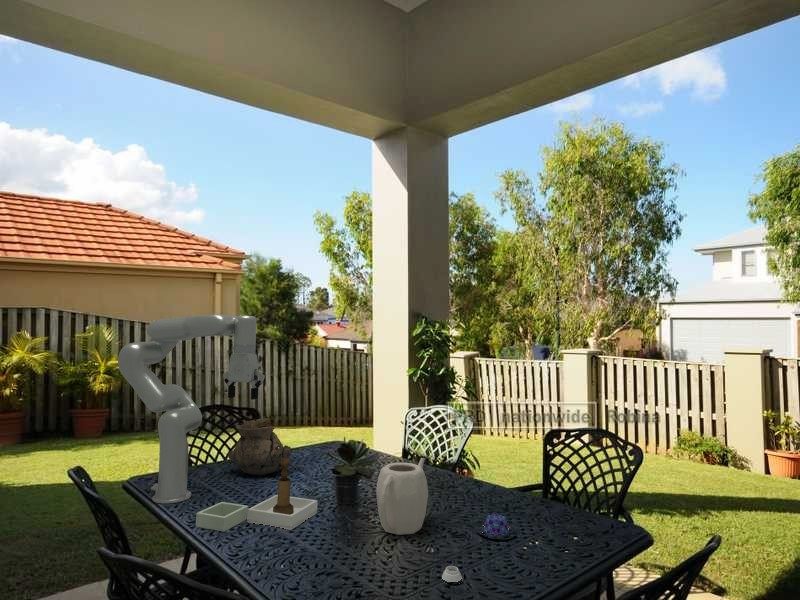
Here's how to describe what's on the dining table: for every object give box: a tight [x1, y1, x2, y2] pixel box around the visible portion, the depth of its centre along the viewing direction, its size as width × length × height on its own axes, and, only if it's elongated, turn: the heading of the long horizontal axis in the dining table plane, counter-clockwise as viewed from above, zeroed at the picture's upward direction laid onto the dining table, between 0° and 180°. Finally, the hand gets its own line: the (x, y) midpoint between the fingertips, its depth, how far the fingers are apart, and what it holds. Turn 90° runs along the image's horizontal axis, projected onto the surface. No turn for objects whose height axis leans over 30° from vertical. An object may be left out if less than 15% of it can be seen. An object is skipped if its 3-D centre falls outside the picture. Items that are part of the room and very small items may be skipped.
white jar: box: [441, 565, 463, 582], centre depth 123 cm, size 5×3×5 cm
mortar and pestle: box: [273, 457, 294, 515], centre depth 163 cm, size 7×6×18 cm
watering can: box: [375, 457, 429, 536], centre depth 156 cm, size 16×27×19 cm, turn 150°
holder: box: [195, 501, 249, 532], centre depth 158 cm, size 10×12×4 cm
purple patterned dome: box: [483, 513, 510, 535], centre depth 152 cm, size 12×12×5 cm
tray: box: [246, 494, 318, 531], centre depth 163 cm, size 16×16×4 cm
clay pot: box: [227, 417, 292, 476], centre depth 215 cm, size 25×24×22 cm
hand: (242, 398), depth 178 cm, fingers open, 9 cm apart
